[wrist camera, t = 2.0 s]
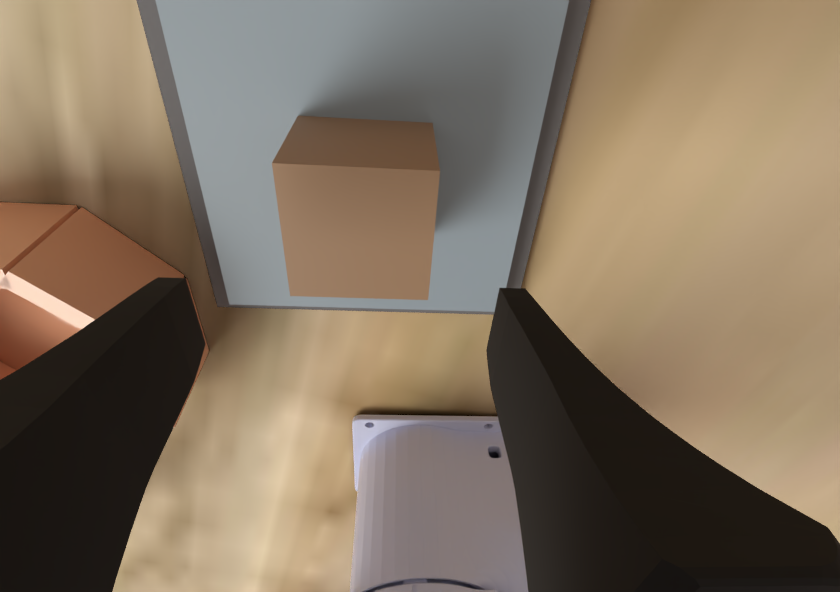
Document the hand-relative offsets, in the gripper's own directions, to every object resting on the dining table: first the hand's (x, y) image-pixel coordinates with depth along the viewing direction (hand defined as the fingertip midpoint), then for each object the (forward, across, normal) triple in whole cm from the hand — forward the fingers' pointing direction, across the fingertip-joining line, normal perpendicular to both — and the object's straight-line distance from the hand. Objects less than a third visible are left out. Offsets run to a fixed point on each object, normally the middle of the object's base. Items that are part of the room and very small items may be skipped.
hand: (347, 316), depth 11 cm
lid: (+9, 0, 0) cm, 9 cm away
